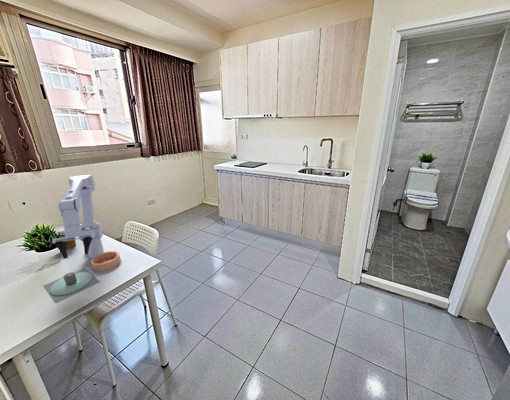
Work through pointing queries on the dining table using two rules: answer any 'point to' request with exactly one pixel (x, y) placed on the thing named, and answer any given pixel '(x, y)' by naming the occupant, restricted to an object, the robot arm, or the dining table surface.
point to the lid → (70, 283)
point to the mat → (60, 298)
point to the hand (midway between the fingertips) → (76, 256)
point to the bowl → (105, 261)
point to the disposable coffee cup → (62, 234)
